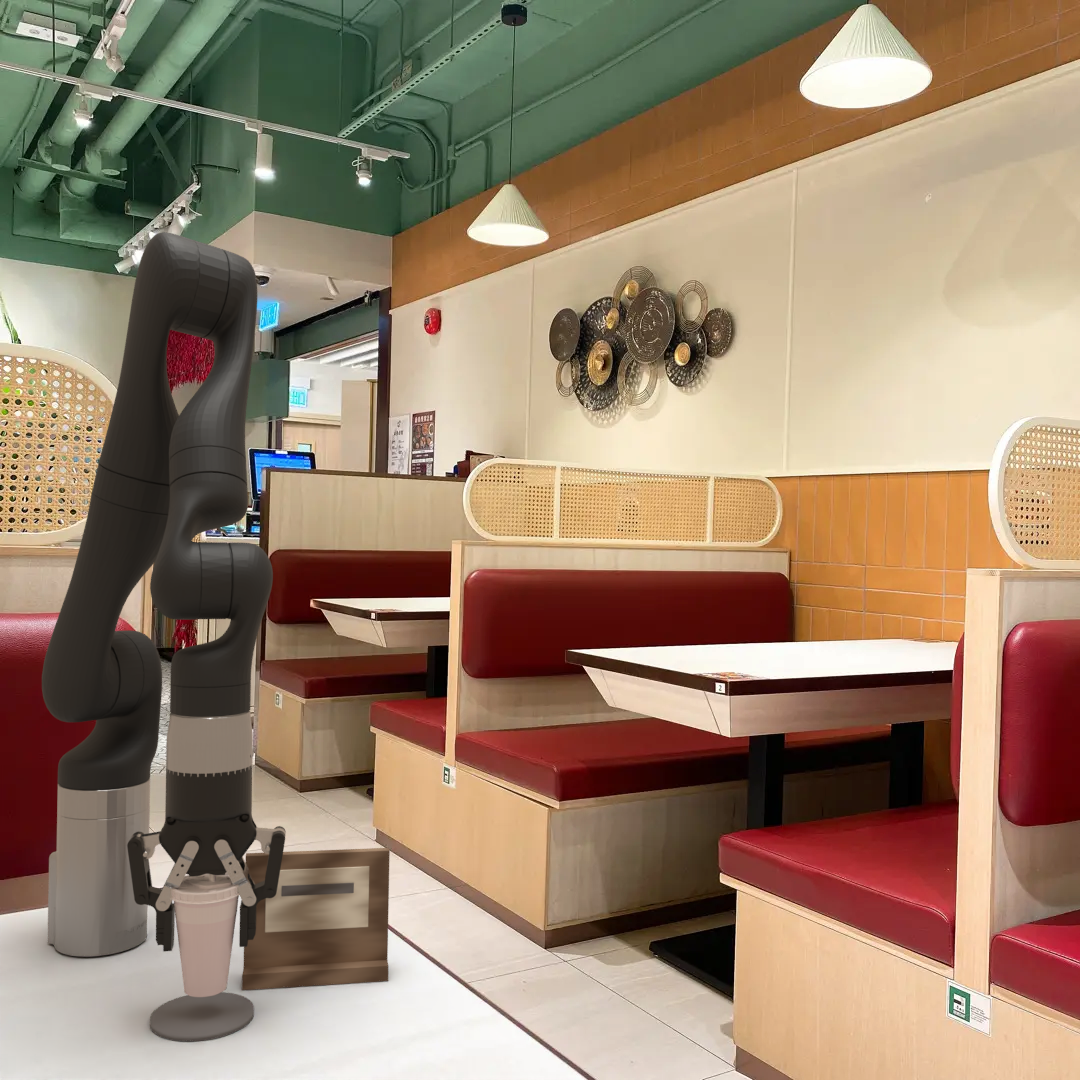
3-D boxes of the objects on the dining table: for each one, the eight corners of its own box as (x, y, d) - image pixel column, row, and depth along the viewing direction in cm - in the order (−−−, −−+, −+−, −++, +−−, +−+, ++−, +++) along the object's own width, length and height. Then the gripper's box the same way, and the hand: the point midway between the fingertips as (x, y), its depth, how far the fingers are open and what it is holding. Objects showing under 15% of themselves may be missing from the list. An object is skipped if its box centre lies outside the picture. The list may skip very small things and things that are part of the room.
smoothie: (221, 1006, 93) (222, 846, 93) (154, 1000, 95) (155, 842, 95) (254, 977, 100) (255, 827, 100) (191, 971, 101) (192, 823, 101)
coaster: (127, 1029, 95) (127, 1023, 95) (196, 990, 103) (196, 985, 103) (209, 1049, 91) (209, 1043, 91) (274, 1007, 99) (274, 1002, 99)
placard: (241, 990, 103) (244, 860, 103) (244, 973, 107) (247, 848, 107) (388, 980, 106) (390, 854, 106) (385, 965, 110) (387, 843, 110)
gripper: (118, 772, 92) (115, 967, 92) (290, 767, 95) (287, 956, 95) (132, 755, 99) (129, 936, 99) (291, 751, 102) (288, 926, 102)
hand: (206, 945), depth 97 cm, fingers closed on smoothie, 6 cm apart
